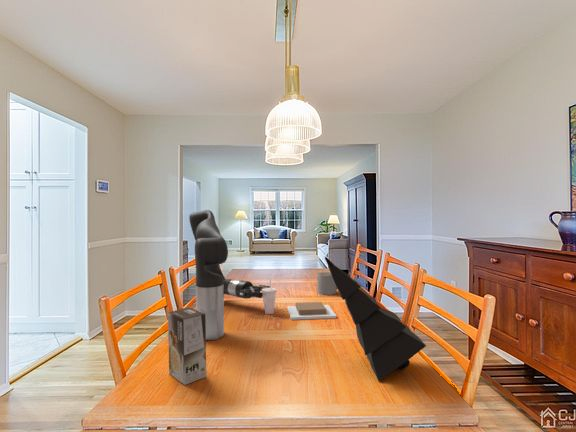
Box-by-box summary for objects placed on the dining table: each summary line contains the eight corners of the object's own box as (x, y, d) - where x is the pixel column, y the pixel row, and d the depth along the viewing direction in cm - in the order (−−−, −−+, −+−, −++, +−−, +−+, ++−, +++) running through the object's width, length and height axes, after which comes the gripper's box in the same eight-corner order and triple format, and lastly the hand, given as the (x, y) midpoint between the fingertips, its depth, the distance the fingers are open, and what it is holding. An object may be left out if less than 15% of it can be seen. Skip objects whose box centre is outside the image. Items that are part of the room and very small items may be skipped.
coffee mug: (318, 295, 168) (318, 275, 168) (316, 290, 178) (316, 272, 178) (344, 295, 168) (344, 275, 168) (341, 290, 178) (341, 271, 178)
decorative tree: (374, 368, 95) (302, 268, 96) (417, 338, 94) (344, 238, 95) (388, 395, 80) (302, 278, 81) (438, 360, 80) (351, 242, 81)
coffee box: (207, 376, 84) (207, 313, 84) (184, 386, 80) (183, 319, 80) (190, 365, 91) (189, 306, 91) (167, 373, 86) (166, 311, 86)
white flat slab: (336, 318, 131) (336, 310, 131) (291, 319, 129) (290, 312, 129) (327, 306, 146) (327, 300, 146) (287, 308, 145) (287, 301, 145)
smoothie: (274, 315, 135) (274, 280, 135) (259, 314, 137) (259, 280, 137) (278, 310, 142) (278, 277, 142) (264, 310, 143) (263, 277, 143)
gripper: (228, 283, 143) (257, 287, 133) (251, 277, 154) (278, 281, 145) (229, 300, 143) (257, 306, 133) (251, 294, 154) (279, 298, 145)
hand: (268, 293), depth 139 cm, fingers open, 8 cm apart
